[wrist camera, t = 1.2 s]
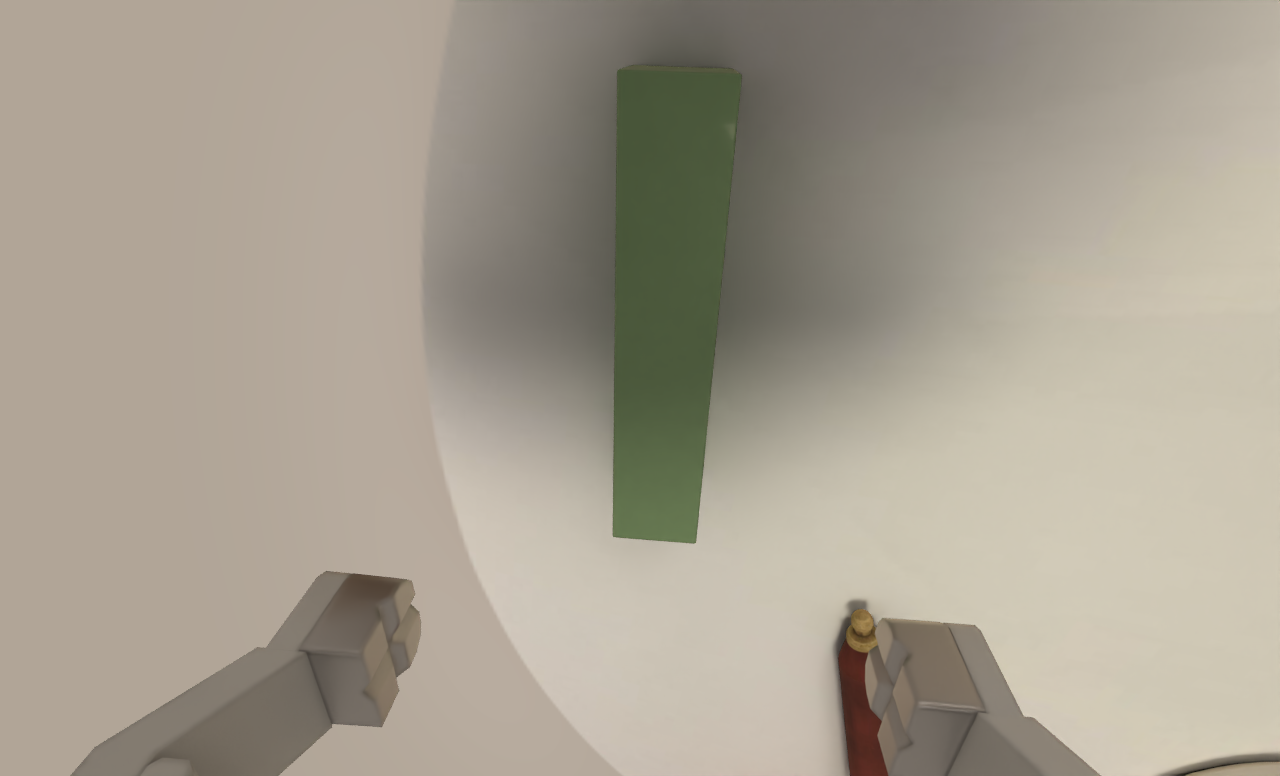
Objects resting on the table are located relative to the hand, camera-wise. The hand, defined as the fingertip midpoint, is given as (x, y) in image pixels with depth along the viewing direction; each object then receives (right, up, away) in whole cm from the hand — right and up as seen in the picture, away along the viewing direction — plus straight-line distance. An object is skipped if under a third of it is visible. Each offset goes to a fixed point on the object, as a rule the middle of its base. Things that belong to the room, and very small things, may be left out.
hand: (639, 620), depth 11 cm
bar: (+1, +7, +12) cm, 14 cm away
